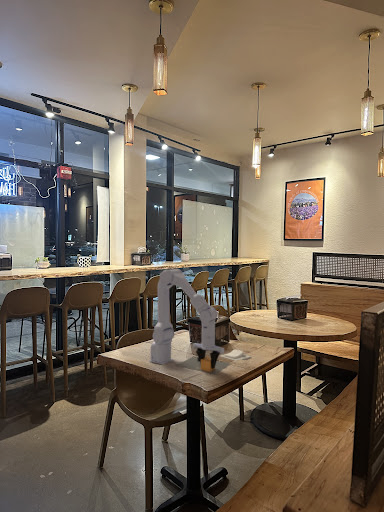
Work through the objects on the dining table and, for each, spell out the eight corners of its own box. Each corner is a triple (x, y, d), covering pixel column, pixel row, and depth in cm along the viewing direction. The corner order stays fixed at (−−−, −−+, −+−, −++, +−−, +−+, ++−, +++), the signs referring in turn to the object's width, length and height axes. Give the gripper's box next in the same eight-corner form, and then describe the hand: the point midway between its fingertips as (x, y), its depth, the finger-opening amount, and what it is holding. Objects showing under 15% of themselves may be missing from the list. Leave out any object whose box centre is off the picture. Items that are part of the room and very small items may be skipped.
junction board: (175, 367, 155) (175, 365, 154) (193, 358, 168) (193, 356, 168) (214, 376, 144) (214, 374, 144) (231, 365, 158) (231, 363, 158)
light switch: (252, 351, 170) (236, 355, 161) (252, 360, 170) (236, 364, 161) (234, 347, 178) (218, 350, 169) (234, 355, 178) (218, 359, 169)
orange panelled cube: (200, 369, 150) (200, 359, 149) (205, 366, 153) (206, 356, 153) (210, 371, 147) (210, 361, 147) (215, 368, 151) (215, 358, 151)
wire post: (196, 360, 161) (196, 353, 161) (198, 359, 163) (198, 352, 163) (200, 361, 160) (200, 353, 160) (202, 360, 162) (202, 352, 162)
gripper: (189, 335, 150) (188, 366, 151) (218, 340, 143) (218, 373, 143) (197, 332, 156) (197, 362, 157) (226, 336, 149) (226, 368, 149)
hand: (207, 367), depth 150 cm, fingers closed on orange panelled cube, 5 cm apart
